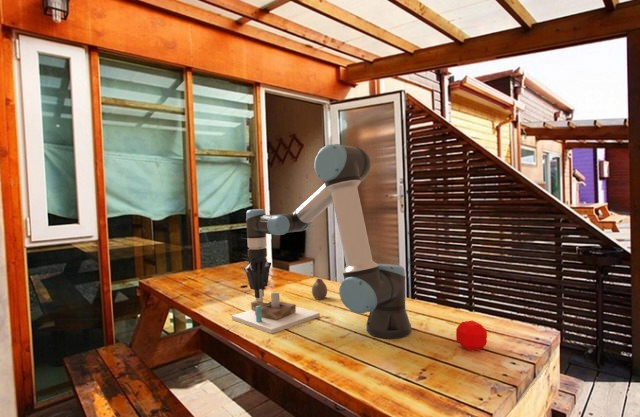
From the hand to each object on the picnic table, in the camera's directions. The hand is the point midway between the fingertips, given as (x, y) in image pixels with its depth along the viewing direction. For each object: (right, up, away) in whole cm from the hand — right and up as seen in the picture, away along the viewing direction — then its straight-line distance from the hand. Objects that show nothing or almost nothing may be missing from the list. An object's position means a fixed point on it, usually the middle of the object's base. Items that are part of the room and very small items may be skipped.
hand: (259, 305), depth 160 cm
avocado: (+24, -2, +19) cm, 31 cm away
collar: (+5, -1, -6) cm, 7 cm away
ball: (+71, -3, -40) cm, 81 cm away
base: (+7, -3, -7) cm, 11 cm away
